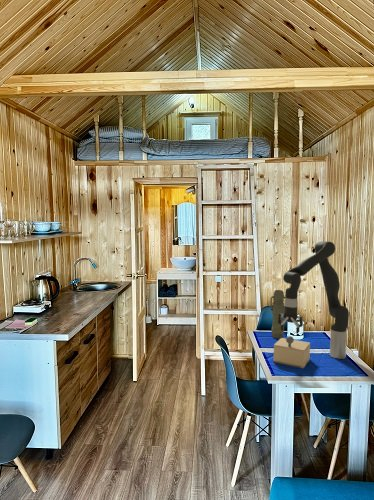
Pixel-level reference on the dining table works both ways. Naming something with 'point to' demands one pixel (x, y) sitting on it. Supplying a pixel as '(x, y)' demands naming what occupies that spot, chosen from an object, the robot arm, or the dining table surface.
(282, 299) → the thermos
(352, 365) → the dining table surface
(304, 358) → the carton
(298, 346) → the carton flap
